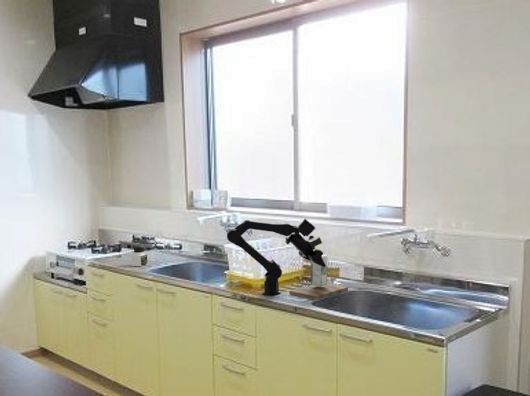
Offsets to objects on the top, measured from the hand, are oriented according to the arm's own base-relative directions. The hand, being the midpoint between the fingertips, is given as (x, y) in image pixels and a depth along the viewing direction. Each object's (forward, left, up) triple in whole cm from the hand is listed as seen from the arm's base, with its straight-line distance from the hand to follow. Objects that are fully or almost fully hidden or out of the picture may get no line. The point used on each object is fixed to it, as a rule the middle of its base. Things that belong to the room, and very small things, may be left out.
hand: (321, 264), depth 256 cm
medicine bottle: (-25, +126, -13) cm, 129 cm away
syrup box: (-1, +1, -10) cm, 10 cm away
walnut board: (-4, -1, -12) cm, 13 cm away
